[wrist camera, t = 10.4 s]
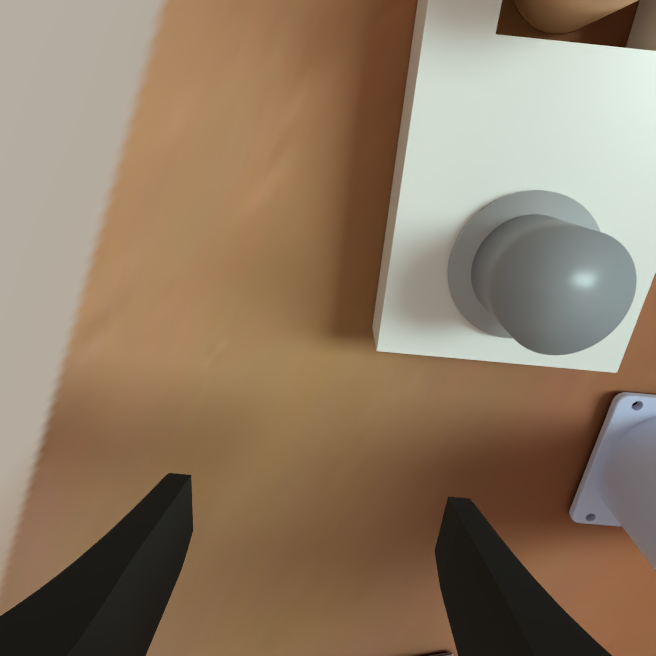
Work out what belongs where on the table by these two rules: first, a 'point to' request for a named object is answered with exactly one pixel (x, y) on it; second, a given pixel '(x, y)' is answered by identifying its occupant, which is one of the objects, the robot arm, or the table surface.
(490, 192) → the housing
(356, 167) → the table surface
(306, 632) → the table surface
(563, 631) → the robot arm
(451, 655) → the candy bar box
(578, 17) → the tan round-topped peg
